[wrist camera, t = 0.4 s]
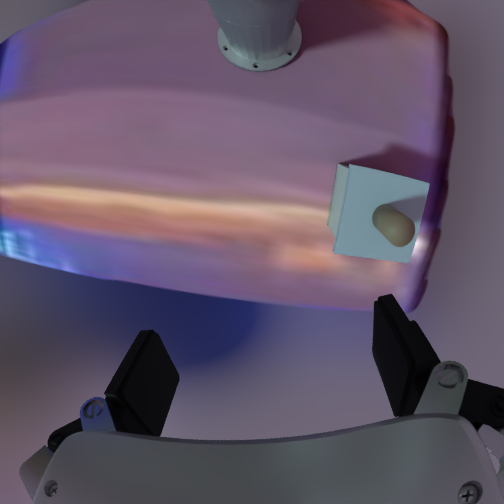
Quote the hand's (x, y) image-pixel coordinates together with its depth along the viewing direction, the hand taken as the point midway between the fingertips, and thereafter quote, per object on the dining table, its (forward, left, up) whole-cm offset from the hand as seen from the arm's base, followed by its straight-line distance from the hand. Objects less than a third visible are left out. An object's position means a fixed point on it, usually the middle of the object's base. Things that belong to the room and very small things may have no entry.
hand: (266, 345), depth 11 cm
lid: (0, +15, -25) cm, 29 cm away
